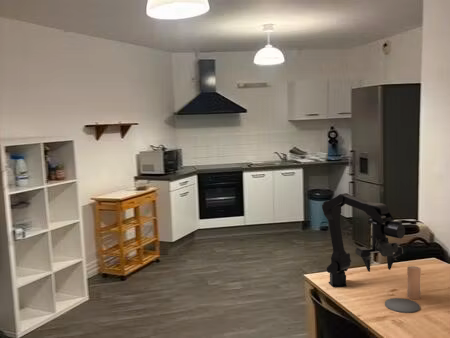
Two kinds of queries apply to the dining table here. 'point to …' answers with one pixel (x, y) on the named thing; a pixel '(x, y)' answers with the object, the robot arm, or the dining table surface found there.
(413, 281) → the tan rounded cylinder
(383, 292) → the dining table surface
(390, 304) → the mat
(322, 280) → the dining table surface
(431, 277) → the dining table surface
